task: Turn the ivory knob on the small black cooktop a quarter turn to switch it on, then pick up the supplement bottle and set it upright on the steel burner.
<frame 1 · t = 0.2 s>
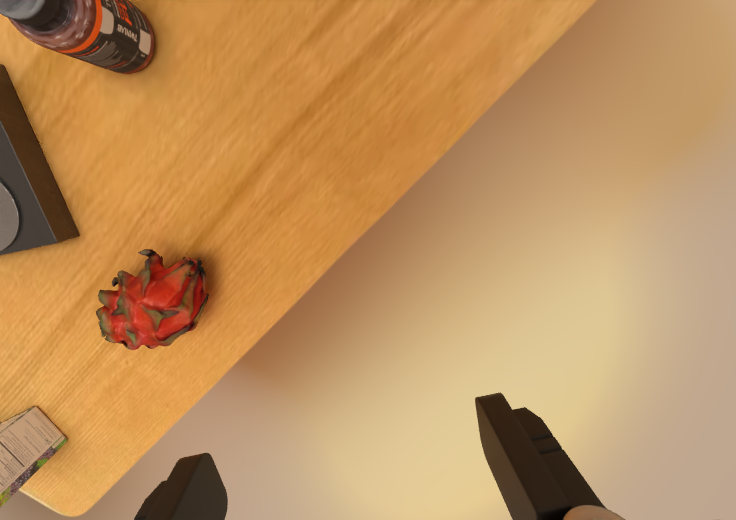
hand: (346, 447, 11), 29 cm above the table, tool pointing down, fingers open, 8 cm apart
syrup box: (34, 429, 44), on the table
dragon fruit: (175, 286, 40), on the table
supplement bottle: (124, 39, 33), on the table
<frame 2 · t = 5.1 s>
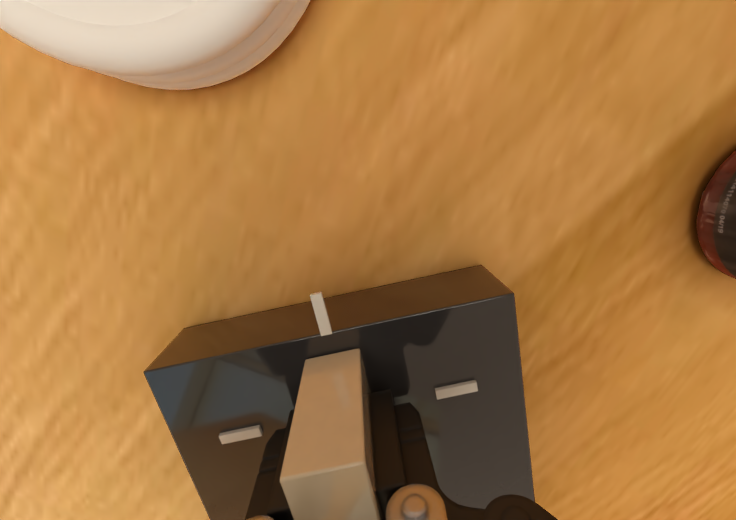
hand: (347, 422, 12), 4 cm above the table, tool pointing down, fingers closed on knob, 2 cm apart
knob: (347, 470, 10), point 5 cm above the table, hinge at 0.0°, touching gripper
hob: (372, 455, 17), on the table
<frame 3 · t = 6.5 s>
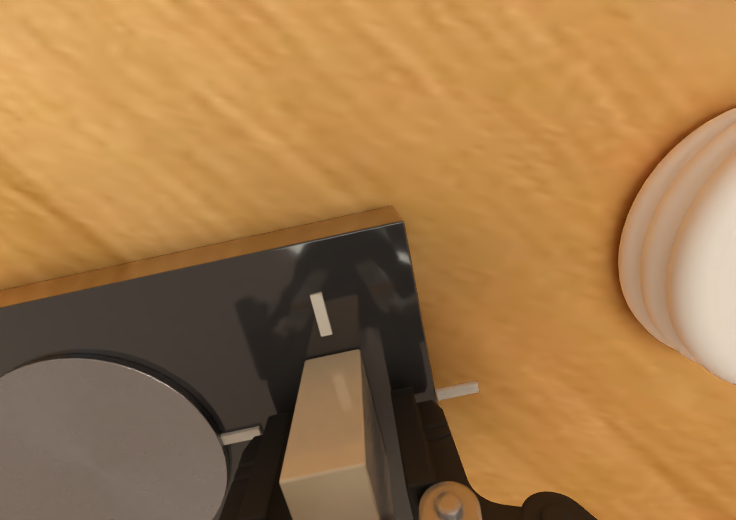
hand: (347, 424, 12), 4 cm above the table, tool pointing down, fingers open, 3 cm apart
knob: (347, 472, 10), point 5 cm above the table, hinge at 90.1°
white short ridged cylinder: (731, 233, 15), on the table
burner: (103, 462, 12), resting on hob
hob: (231, 386, 15), on the table
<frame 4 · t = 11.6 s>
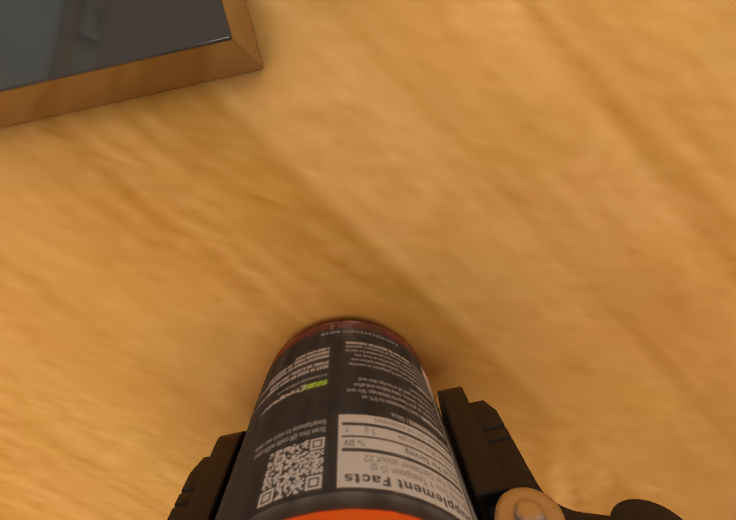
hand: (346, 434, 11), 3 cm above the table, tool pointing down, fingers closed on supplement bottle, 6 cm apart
supplement bottle: (347, 381, 14), on the table, touching gripper
when the fingers open (6 cm above the table, at t = 19.2 s): supplement bottle stays where it is, resting on burner.
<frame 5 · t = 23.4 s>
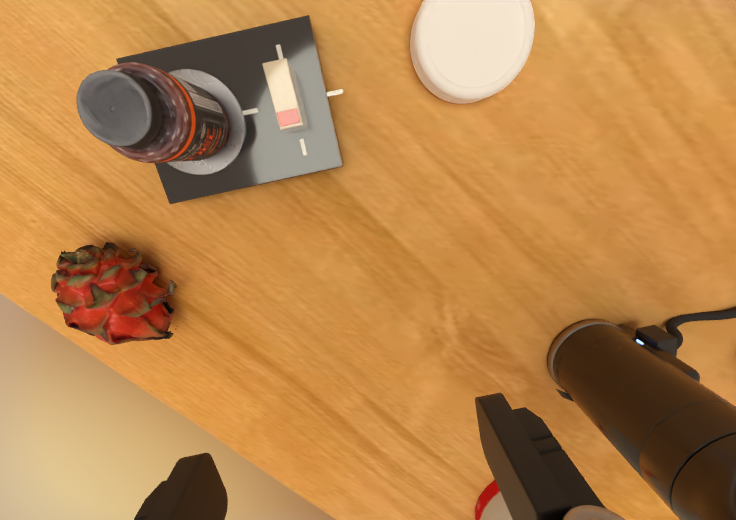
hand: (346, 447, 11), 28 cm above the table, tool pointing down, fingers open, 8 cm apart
kitchen timer: (525, 506, 50), on the table
dragon fruit: (141, 282, 38), on the table
knob: (287, 98, 29), point 5 cm above the table, hinge at 90.1°
white short ridged cylinder: (463, 45, 33), on the table
burner: (195, 124, 31), resting on hob
supplement bottle: (196, 124, 31), point 3 cm above the table, touching burner
hob: (244, 118, 34), on the table
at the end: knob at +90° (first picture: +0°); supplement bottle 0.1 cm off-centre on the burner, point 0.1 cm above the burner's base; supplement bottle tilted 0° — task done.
